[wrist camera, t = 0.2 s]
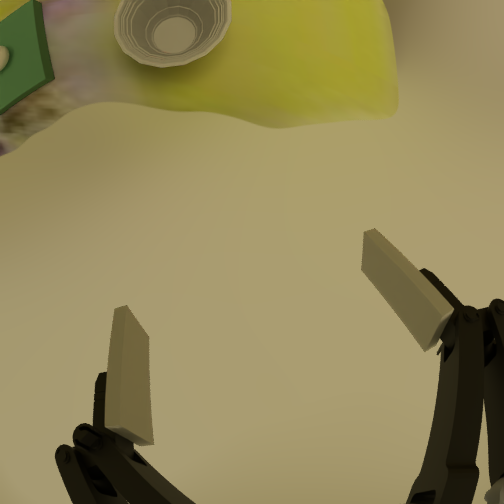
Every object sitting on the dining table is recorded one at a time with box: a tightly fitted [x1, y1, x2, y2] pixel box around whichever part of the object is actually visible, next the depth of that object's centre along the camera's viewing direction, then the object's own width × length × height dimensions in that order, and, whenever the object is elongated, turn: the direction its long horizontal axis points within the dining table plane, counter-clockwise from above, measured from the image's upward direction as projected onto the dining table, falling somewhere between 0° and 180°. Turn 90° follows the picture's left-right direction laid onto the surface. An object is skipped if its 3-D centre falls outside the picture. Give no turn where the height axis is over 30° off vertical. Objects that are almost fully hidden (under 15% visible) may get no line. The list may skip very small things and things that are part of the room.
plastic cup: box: [114, 0, 231, 68], centre depth 21 cm, size 11×11×12 cm
